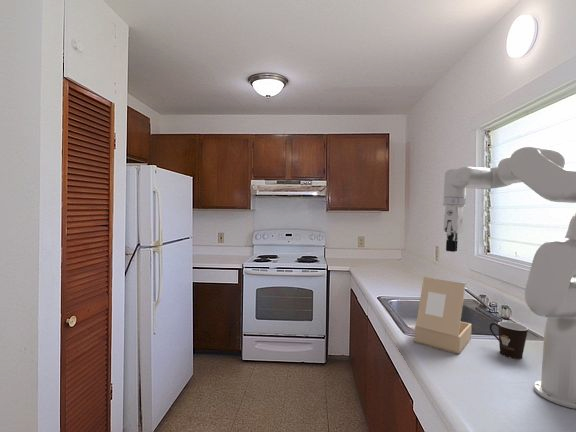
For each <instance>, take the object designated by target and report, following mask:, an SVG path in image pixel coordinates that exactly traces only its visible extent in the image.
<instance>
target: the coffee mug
mask: <svg viewBox="0 0 576 432" xmlns="http://www.w3.org/2000/svg"><path fill="white" fill-rule="evenodd" d="M493 326H496V327H497V329H498V336H497V335H496V334H495V333H494V330H493V328H492V327H493ZM528 330H529V328H528V327H527V326H526V325H524V324H520V323H517V322H512V321H499V322H498V323H495V322H493V323H490V325H489V331H490V332H491V334H492V335H493V337H495V339H496V340H497V341H498V344H499V353H500V355H502V356H504V357H505V358H509V359H515V360H520V359H521V360H522V358H523V355H524V349H525V345H526V341H527V336H528V332H529V331H528Z"/></svg>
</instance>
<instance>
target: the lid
mask: <svg viewBox="0 0 576 432" xmlns="http://www.w3.org/2000/svg"><path fill="white" fill-rule="evenodd" d="M422 279H423V280H422V286H421V293H420V299H419V302H418V303H419V305H418V311H417V317H416V324H415V326H418V327H422V328H426V329H430V330H434V331H438V332H442V333H446V334H450V335H454V336H459V328H460V321H461V318H462V312H463V305H464V297H465V291H466V290H465V289H466V283H462V282H457V281H451V280H450V281H449V280H444V279H439V278H433V277H423V278H422ZM461 322H462V321H461Z"/></svg>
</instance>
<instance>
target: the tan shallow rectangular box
mask: <svg viewBox="0 0 576 432" xmlns="http://www.w3.org/2000/svg"><path fill="white" fill-rule="evenodd" d="M413 340H414V343H416V344H419V345H423V346H425V347H431V348H433V349H437V350H442V351H444V352H448V353H452V354H456V355H460V354H461V353H462V351H464V349H465V348H466V346H467V345H468V344H469V342H470V341H471V340H472V323H470V322H466V321H460V328H459V336H454V335H450V334H446V333H442V332H438V331H434V330H430V329H426V328H422V327H418V326H416V325H415V326H414V339H413Z"/></svg>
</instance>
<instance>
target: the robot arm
mask: <svg viewBox="0 0 576 432" xmlns="http://www.w3.org/2000/svg"><path fill="white" fill-rule="evenodd" d="M565 166H566V159H565V156H564V154H562V153H561V151H559V150H557V149H555V148H550V147H540V146H534V145H533V146H531V145H529V146H528V145H527V146H523V147H519V148H518V149H516V150H514V152H513V153H511V155H510V156H506V157H504V158H502V159H501V160H500V161H499V162H498V165H497V166H494V167H478V166H477V167H476V166H475V167H474V166H462V167H459V168H452V169H447V170H445V172H444V181H443V183H444V184H443V198H442V199H443V202H442V206H443V207H444V215H443V216H444V217H443V232H445V233H446V234H445V235H446V239H445V240H446V243H445V244H446V245H445V251H446V252H452V253H454V252H457V251H458V244H459V243H458V242H459V241H458V238H459V237H458V236H459V233H463V232H464V208H465V207H466V197H467V189H476V190H491V189H497V188H498V189H500V188H504V187H508V186H511V185H512V184H518V183H523V184H524V185H526V187H528V188H529V189H531V190H532V191H534V192H535V193H536V194H537V195H538V196H540V198H541V197H542V198H543V199H545V200H547V201H550V202H555V203H572V204H574V203H576V169H571V168H570V169H569V168H565ZM525 284H526V285H525V287H524V288H525V289H524V300H525V303H526V306H527V307H528V308H529V310H530V311H531V312H532V313H534V314H535V315H537V316H540V317H543V318H546V321H545V326H544V334H543V345H542V346H543V349H542V360H541V361H542V363H541V379H540V380H536V381H535V382H534V383H533V390H534V391H535V392H536V393H537V394H538V396H540V397H541V398H543V399H545V400H547V401H550V403H551V402H552V403H554V404H556V405H560V406H561V407H566V408H571V409H574V410H576V212H574V214H573V216H572V217H571V219H570V220H569V224H568V228H567V230H566V233H565V236H564V238H563V239H561V238H557V239H550V240H549V241H546V242H543V244H541V245H540V246H539V247H538V249H536V252H535V253H534V256H533V259H532V262H531V266H530V269H529V273H528V278H527V281H526V283H525Z"/></svg>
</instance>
